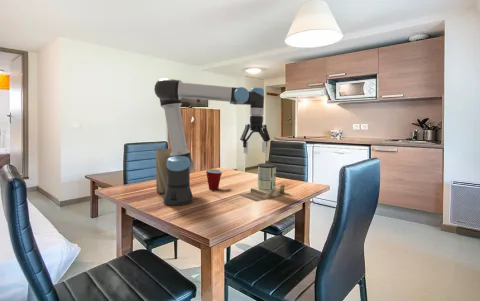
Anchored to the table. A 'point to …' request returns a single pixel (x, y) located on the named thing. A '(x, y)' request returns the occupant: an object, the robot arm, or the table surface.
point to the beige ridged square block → (265, 193)
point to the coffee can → (266, 177)
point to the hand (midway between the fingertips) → (255, 152)
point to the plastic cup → (213, 178)
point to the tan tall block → (162, 169)
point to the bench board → (257, 198)
